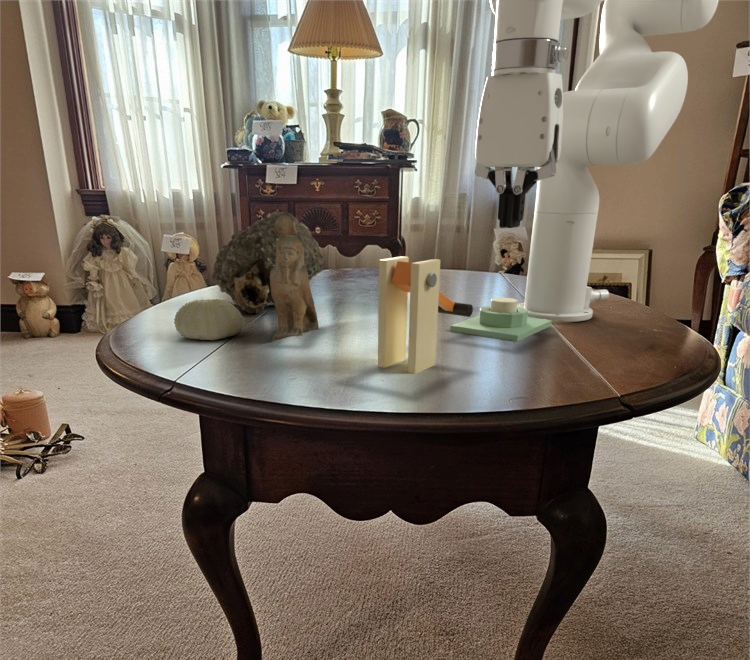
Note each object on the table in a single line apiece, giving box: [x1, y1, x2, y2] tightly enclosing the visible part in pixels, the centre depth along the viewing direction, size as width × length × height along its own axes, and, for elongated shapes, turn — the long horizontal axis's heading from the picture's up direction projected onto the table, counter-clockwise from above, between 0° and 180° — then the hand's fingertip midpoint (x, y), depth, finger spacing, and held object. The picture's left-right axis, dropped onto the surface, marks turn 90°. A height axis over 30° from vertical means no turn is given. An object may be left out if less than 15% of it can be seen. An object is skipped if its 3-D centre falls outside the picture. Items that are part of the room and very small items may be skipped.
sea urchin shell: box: [173, 298, 244, 342], centre depth 92 cm, size 9×8×8 cm
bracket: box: [377, 255, 441, 374], centre depth 72 cm, size 12×9×13 cm
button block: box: [449, 305, 553, 342], centre depth 92 cm, size 12×10×4 cm
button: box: [490, 297, 519, 313], centre depth 91 cm, size 4×4×2 cm
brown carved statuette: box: [270, 212, 319, 342], centre depth 88 cm, size 12×6×18 cm, turn 170°
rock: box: [211, 209, 326, 314], centre depth 109 cm, size 18×14×15 cm
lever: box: [392, 261, 474, 318], centre depth 74 cm, size 13×5×2 cm, turn 145°
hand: (509, 226), depth 87 cm, fingers closed
